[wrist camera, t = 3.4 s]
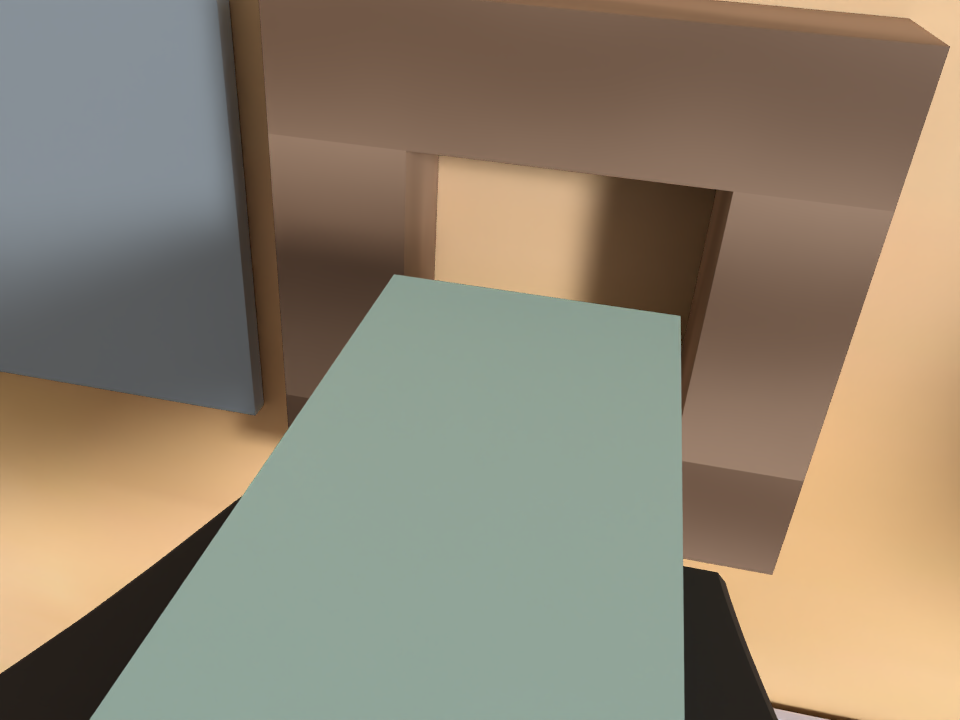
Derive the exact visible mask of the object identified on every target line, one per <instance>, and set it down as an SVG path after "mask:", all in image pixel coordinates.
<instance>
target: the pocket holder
mask: <svg viewBox="0 0 960 720" xmlns="http://www.w3.org/2000/svg"><path fill="white" fill-rule="evenodd" d="M259 10H260V25H261V39H262V53H263V68H264V82H265V97H266V111H267V125H268V140H269V154H270V169H271V183H272V198H273V212H274V226H275V241H276V255H277V270H278V284H279V298H280V313H281V327H282V342H283V356H284V371H285V385H286V399H287V414H288V428H289V427H290V426H291V424H292V423H293V421H294V420H295V418H296V417H297V415H298V414H299V413H300V411H301V410H302V408H303V407H304V405H305V404H306V402H307V401H308V399H309V398H310V396H311V395H312V394H313V392H314V391H315V389H316V388H317V386H318V385H319V383H320V382H321V380H322V379H323V377H324V376H325V375H326V373H327V372H328V370H329V369H330V367H331V366H332V364H333V363H334V361H335V360H336V358H337V357H338V356H339V354H340V353H341V351H342V350H343V348H344V347H345V345H346V344H347V342H348V341H349V339H350V338H351V336H352V335H353V334H354V332H355V331H356V329H357V328H358V326H359V325H360V323H361V322H362V320H363V319H364V317H365V316H366V315H367V313H368V312H369V310H370V309H371V307H372V306H373V304H374V303H375V301H376V300H377V298H378V297H379V296H380V294H381V293H382V291H383V290H384V288H385V287H386V285H387V284H388V282H389V281H390V279H391V278H392V276H393V275H394V274H395V275H402V276H409V277H416V278H423V279H430V280H434V270H435V244H436V217H437V190H438V163H439V155H444V156H452V157H460V158H468V159H476V160H484V161H492V162H500V163H508V164H516V165H524V166H532V167H540V168H548V169H556V170H564V171H572V172H580V173H588V174H596V175H604V176H612V177H620V178H628V179H636V180H644V181H652V182H661V183H669V184H677V185H685V186H693V187H701V188H709V189H717V190H716V195H715V199H714V204H713V209H712V213H711V218H710V222H709V227H708V232H707V236H706V241H705V245H704V250H703V255H702V259H701V264H700V269H699V273H698V278H697V282H696V287H695V292H694V296H693V301H692V305H691V310H690V315H689V319H688V324H687V328H686V333H685V338H684V342H683V347H682V351H681V409H682V510H683V559H688V560H694V561H699V562H705V563H710V564H716V565H721V566H727V567H732V568H737V569H743V570H748V571H754V572H759V573H765V574H770V575H772V574H773V571H774V568H775V565H776V562H777V559H778V556H779V553H780V550H781V547H782V544H783V541H784V538H785V535H786V532H787V530H788V527H789V524H790V521H791V518H792V515H793V512H794V509H795V506H796V503H797V500H798V497H799V494H800V491H801V488H802V485H803V482H804V479H805V476H806V473H807V470H808V467H809V464H810V461H811V458H812V455H813V452H814V449H815V446H816V443H817V440H818V437H819V434H820V431H821V429H822V426H823V423H824V420H825V417H826V414H827V411H828V408H829V405H830V402H831V399H832V396H833V393H834V390H835V387H836V384H837V381H838V378H839V375H840V372H841V369H842V366H843V363H844V360H845V357H846V354H847V351H848V348H849V345H850V342H851V339H852V336H853V333H854V330H855V327H856V325H857V322H858V319H859V316H860V313H861V310H862V307H863V304H864V301H865V298H866V295H867V292H868V289H869V286H870V283H871V280H872V277H873V274H874V271H875V268H876V265H877V262H878V259H879V256H880V253H881V250H882V247H883V244H884V241H885V238H886V235H887V232H888V229H889V226H890V224H891V221H892V218H893V215H894V212H895V209H896V206H897V203H898V200H899V197H900V194H901V191H902V188H903V185H904V182H905V179H906V176H907V173H908V170H909V167H910V164H911V161H912V158H913V155H914V152H915V149H916V146H917V143H918V140H919V137H920V134H921V131H922V128H923V125H924V122H925V120H926V117H927V114H928V111H929V108H930V105H931V102H932V99H933V96H934V93H935V90H936V87H937V84H938V81H939V78H940V75H941V72H942V69H943V66H944V63H945V60H946V57H947V54H948V51H949V48H950V46H948V45H947V44H945V43H944V42H942V41H941V40H940V39H938V38H937V37H935V36H934V35H932V34H931V33H929V32H928V31H926V30H925V29H924V28H922V27H921V26H919V25H918V24H916V23H915V22H913V21H912V20H910V19H908V18H897V17H886V16H876V15H865V14H855V13H844V12H834V11H823V10H812V9H802V8H791V7H781V6H770V5H760V4H749V3H738V2H728V1H717V0H259Z"/></svg>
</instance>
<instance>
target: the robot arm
mask: <svg viewBox="0 0 960 720" xmlns="http://www.w3.org/2000/svg"><path fill="white" fill-rule="evenodd" d="M240 499H241V497H240V498H239V499H238V500H236V501H235V502H234V503H232V504H231V505H230V506H228V507H227V508H226V509H225V510H223V511H222V512H221V513H219V514H218V515H217V516H216V517H214V518H213V519H212V520H210V521H209V522H208V523H207V524H205V525H204V526H203V527H202V528H200V529H199V530H198V531H196V532H195V533H194V534H193V535H191V536H190V537H189V538H188V539H186V540H185V541H184V542H182V543H181V544H180V545H179V546H177V547H176V548H175V549H173V550H172V551H171V552H169V553H168V554H167V555H166V556H164V557H163V558H162V559H160V560H159V561H158V562H157V563H155V564H154V565H153V566H151V567H150V568H149V569H147V570H146V571H145V572H143V573H142V574H141V575H139V576H138V577H137V578H135V579H134V580H133V581H131V582H130V583H129V584H127V585H126V586H125V587H123V588H122V589H120V590H119V591H118V592H116V593H115V594H114V595H112V596H111V597H110V598H108V599H107V600H106V601H104V602H103V603H102V604H100V605H99V606H98V607H96V608H95V609H94V610H92V611H91V612H89V613H88V614H87V615H85V616H84V617H82V618H81V619H80V620H78V621H77V622H75V623H74V624H72V625H71V626H70V627H68V628H67V629H65V630H64V631H62V632H61V633H59V634H58V635H56V636H55V637H53V638H52V639H51V640H49V641H48V642H46V643H45V644H43V645H42V646H40V647H39V648H37V649H36V650H35V651H33V652H32V653H30V654H29V655H27V656H26V657H24V658H23V659H21V660H20V661H18V662H17V663H16V664H14V665H13V666H11V667H10V668H8V669H7V670H5V671H4V672H2V673H1V674H0V720H90V718H91V717H92V715H93V714H94V713H95V711H96V710H97V708H98V707H99V705H100V704H101V702H102V701H103V699H104V698H105V696H106V695H107V694H108V692H109V691H110V689H111V688H112V686H113V685H114V683H115V682H116V680H117V679H118V677H119V676H120V674H121V673H122V672H123V670H124V669H125V667H126V666H127V664H128V663H129V661H130V660H131V658H132V657H133V655H134V654H135V653H136V651H137V650H138V648H139V647H140V645H141V644H142V642H143V641H144V639H145V638H146V636H147V635H148V634H149V632H150V631H151V629H152V628H153V626H154V625H155V623H156V622H157V620H158V619H159V617H160V616H161V614H162V613H163V612H164V610H165V609H166V607H167V606H168V604H169V603H170V601H171V600H172V598H173V597H174V595H175V594H176V593H177V591H178V590H179V588H180V587H181V585H182V584H183V582H184V581H185V579H186V578H187V576H188V575H189V574H190V572H191V571H192V569H193V568H194V566H195V565H196V563H197V562H198V560H199V559H200V557H201V556H202V555H203V553H204V552H205V550H206V549H207V547H208V546H209V544H210V543H211V541H212V540H213V538H214V537H215V535H216V534H217V533H218V531H219V530H220V528H221V527H222V525H223V524H224V522H225V521H226V519H227V518H228V516H229V515H230V514H231V512H232V511H233V509H234V508H235V506H236V505H237V503H238V502H239V500H240ZM683 612H684V714H685V720H829V719H824V718H819V717H814V716H809V715H804V714H800V713H795V712H790V711H785V710H780V709H775V708H773V707H772V705H771V702H770V700H769V698H768V695H767V693H766V691H765V688H764V686H763V684H762V681H761V679H760V676H759V674H758V671H757V669H756V666H755V664H754V661H753V659H752V657H751V654H750V652H749V649H748V646H747V644H746V641H745V638H744V636H743V633H742V631H741V628H740V625H739V622H738V620H737V617H736V614H735V611H734V608H733V605H732V602H731V599H730V596H729V593H728V590H727V586H726V583H725V581H724V580H723V579H722V578H721V576H720V575H719V574H718V573H717V572H712V571H707V570H701V569H696V568H691V567H685V566H683Z"/></svg>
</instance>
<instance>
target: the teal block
mask: <svg viewBox="0 0 960 720" xmlns="http://www.w3.org/2000/svg"><path fill="white" fill-rule="evenodd" d="M90 720H685V714H684V612H683V510H682V409H681V316H677V315H670V314H663V313H656V312H649V311H642V310H636V309H629V308H622V307H615V306H608V305H601V304H594V303H588V302H581V301H574V300H567V299H560V298H553V297H546V296H539V295H533V294H526V293H519V292H512V291H505V290H498V289H491V288H485V287H478V286H471V285H464V284H457V283H450V282H443V281H436V280H430V279H423V278H416V277H409V276H402V275H395V274H394V275H393V276H392V278H391V279H390V281H389V282H388V284H387V285H386V287H385V288H384V290H383V291H382V293H381V294H380V296H379V297H378V298H377V300H376V301H375V303H374V304H373V306H372V307H371V309H370V310H369V312H368V313H367V315H366V316H365V317H364V319H363V320H362V322H361V323H360V325H359V326H358V328H357V329H356V331H355V332H354V334H353V335H352V336H351V338H350V339H349V341H348V342H347V344H346V345H345V347H344V348H343V350H342V351H341V353H340V354H339V356H338V357H337V358H336V360H335V361H334V363H333V364H332V366H331V367H330V369H329V370H328V372H327V373H326V375H325V376H324V377H323V379H322V380H321V382H320V383H319V385H318V386H317V388H316V389H315V391H314V392H313V394H312V395H311V396H310V398H309V399H308V401H307V402H306V404H305V405H304V407H303V408H302V410H301V411H300V413H299V414H298V415H297V417H296V418H295V420H294V421H293V423H292V424H291V426H290V427H289V429H288V430H287V432H286V433H285V435H284V436H283V437H282V439H281V440H280V442H279V443H278V445H277V446H276V448H275V449H274V451H273V452H272V454H271V455H270V456H269V458H268V459H267V461H266V462H265V464H264V465H263V467H262V468H261V470H260V471H259V473H258V474H257V475H256V477H255V478H254V480H253V481H252V483H251V484H250V486H249V487H248V489H247V490H246V492H245V493H244V495H243V496H242V497H241V499H240V500H239V502H238V503H237V505H236V506H235V508H234V509H233V511H232V512H231V514H230V515H229V516H228V518H227V519H226V521H225V522H224V524H223V525H222V527H221V528H220V530H219V531H218V533H217V534H216V535H215V537H214V538H213V540H212V541H211V543H210V544H209V546H208V547H207V549H206V550H205V552H204V553H203V555H202V556H201V557H200V559H199V560H198V562H197V563H196V565H195V566H194V568H193V569H192V571H191V572H190V574H189V575H188V576H187V578H186V579H185V581H184V582H183V584H182V585H181V587H180V588H179V590H178V591H177V593H176V594H175V595H174V597H173V598H172V600H171V601H170V603H169V604H168V606H167V607H166V609H165V610H164V612H163V613H162V614H161V616H160V617H159V619H158V620H157V622H156V623H155V625H154V626H153V628H152V629H151V631H150V632H149V634H148V635H147V636H146V638H145V639H144V641H143V642H142V644H141V645H140V647H139V648H138V650H137V651H136V653H135V654H134V655H133V657H132V658H131V660H130V661H129V663H128V664H127V666H126V667H125V669H124V670H123V672H122V673H121V674H120V676H119V677H118V679H117V680H116V682H115V683H114V685H113V686H112V688H111V689H110V691H109V692H108V694H107V695H106V696H105V698H104V699H103V701H102V702H101V704H100V705H99V707H98V708H97V710H96V711H95V713H94V714H93V715H92V717H91V718H90Z"/></svg>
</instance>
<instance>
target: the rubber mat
mask: <svg viewBox="0 0 960 720" xmlns="http://www.w3.org/2000/svg"><path fill="white" fill-rule="evenodd" d="M0 371H1V372H7V373H13V374H18V375H24V376H30V377H36V378H41V379H47V380H53V381H59V382H65V383H70V384H76V385H82V386H88V387H94V388H99V389H105V390H111V391H117V392H123V393H128V394H134V395H140V396H146V397H152V398H157V399H163V400H169V401H175V402H181V403H186V404H192V405H198V406H204V407H209V408H215V409H221V410H227V411H233V412H238V413H244V414H250V415H256V414H257V413H258V412H259V410H260V409H261V408H262V406H263V405H264V399H263V388H262V376H261V365H260V353H259V341H258V330H257V318H256V307H255V295H254V284H253V272H252V260H251V249H250V237H249V226H248V214H247V203H246V191H245V179H244V168H243V156H242V145H241V133H240V122H239V110H238V99H237V87H236V75H235V64H234V52H233V41H232V29H231V18H230V6H229V0H0Z"/></svg>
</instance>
